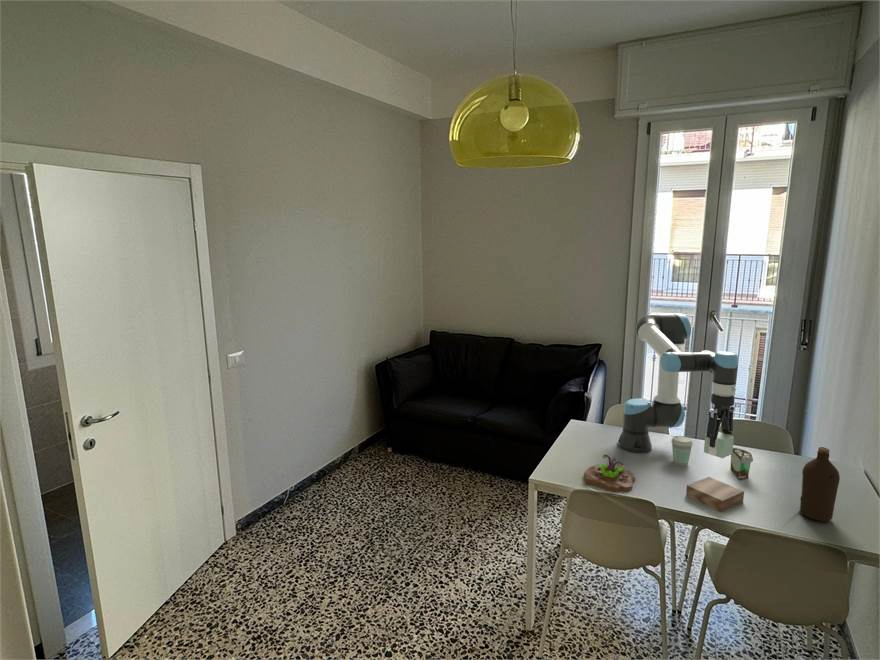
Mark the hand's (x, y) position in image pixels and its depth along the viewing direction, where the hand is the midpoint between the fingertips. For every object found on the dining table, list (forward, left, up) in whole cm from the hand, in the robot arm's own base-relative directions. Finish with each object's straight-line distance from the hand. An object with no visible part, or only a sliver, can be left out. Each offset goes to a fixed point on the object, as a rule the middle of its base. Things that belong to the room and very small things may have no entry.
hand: (718, 452), depth 189 cm
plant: (-34, -19, -20) cm, 43 cm away
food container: (-4, +30, -19) cm, 36 cm away
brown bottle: (+26, +19, -19) cm, 38 cm away
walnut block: (0, 0, -19) cm, 19 cm away
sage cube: (0, 0, 0) cm, 0 cm away
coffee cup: (-25, +19, -19) cm, 37 cm away
